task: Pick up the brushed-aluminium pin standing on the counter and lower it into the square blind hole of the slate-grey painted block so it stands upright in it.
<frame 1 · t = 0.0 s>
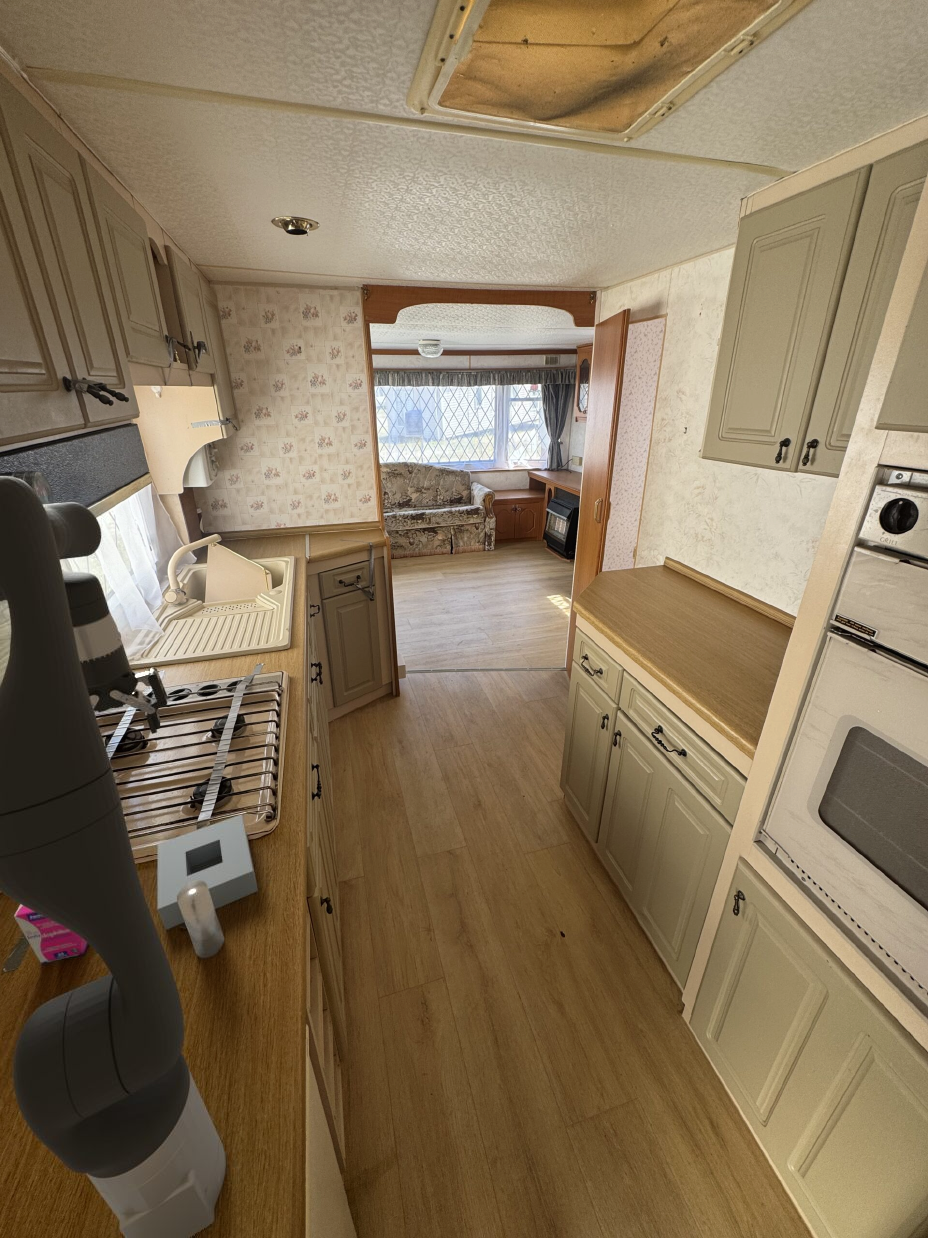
hand: (123, 739, 78), 29 cm above the worktop, fingers open, 8 cm apart
supplement box: (71, 943, 78), on the worktop
pin: (210, 944, 78), on the worktop
bore block: (210, 877, 89), on the worktop
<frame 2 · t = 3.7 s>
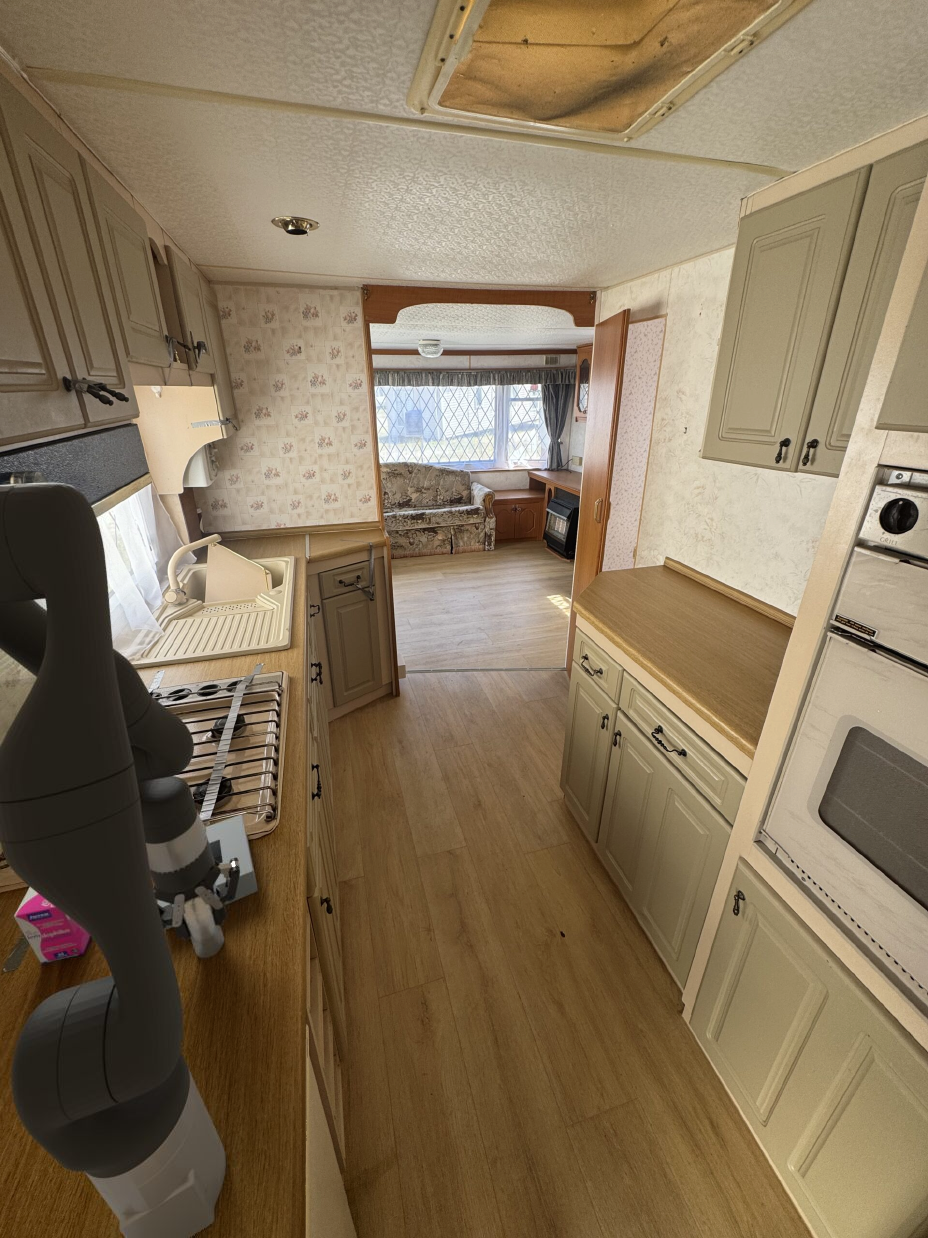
hand: (204, 927, 76), 4 cm above the worktop, fingers closed on pin, 4 cm apart
pin: (210, 944, 78), on the worktop, touching gripper
everything else where it was.
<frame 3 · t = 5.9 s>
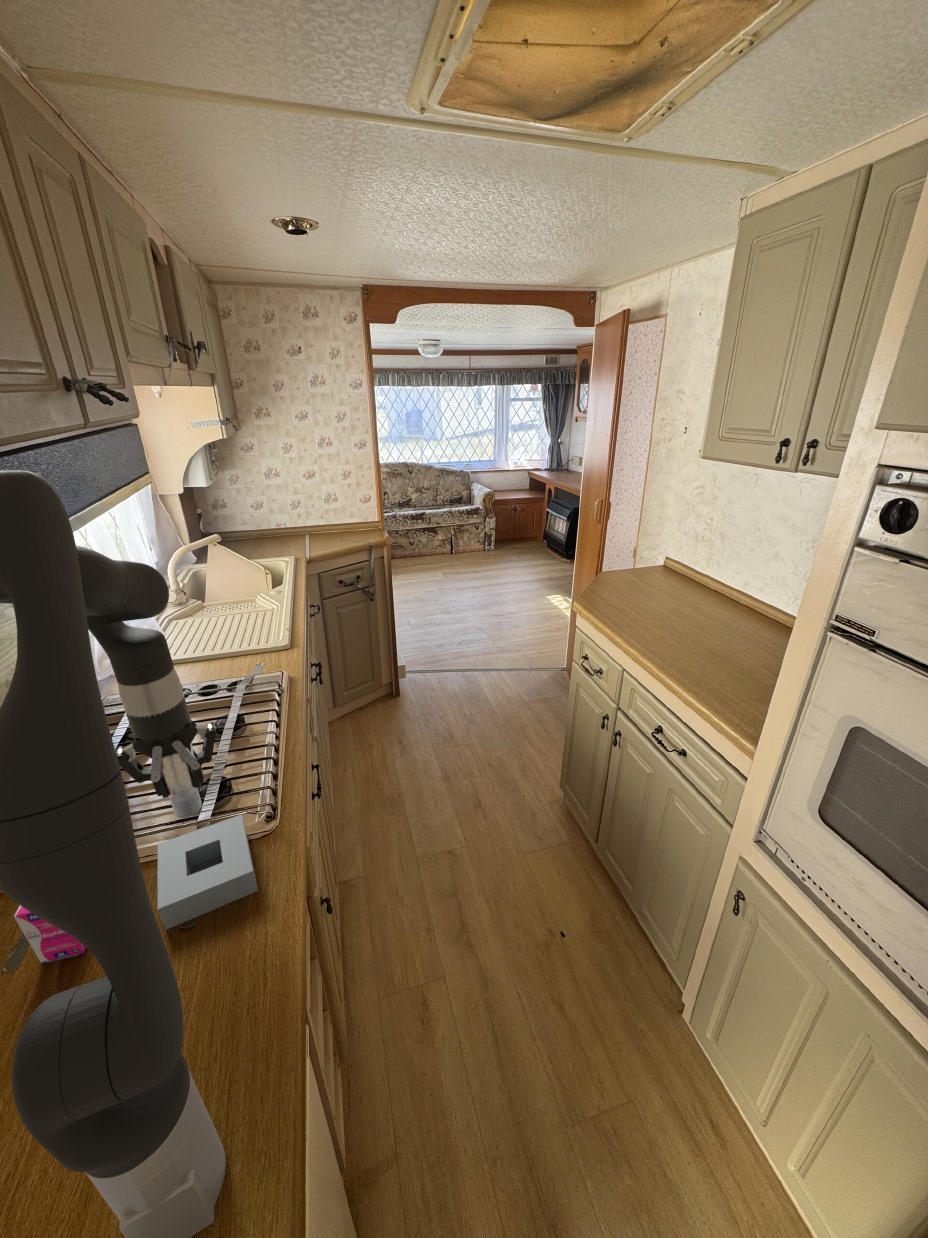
hand: (182, 788, 80), 20 cm above the worktop, fingers closed on pin, 4 cm apart
pin: (188, 808, 82), point 16 cm above the worktop, touching gripper
everything else where it was.
when the fingers open (6 cm above the worktop, at t = 8.5 s): pin stays where it is, resting on bore block.
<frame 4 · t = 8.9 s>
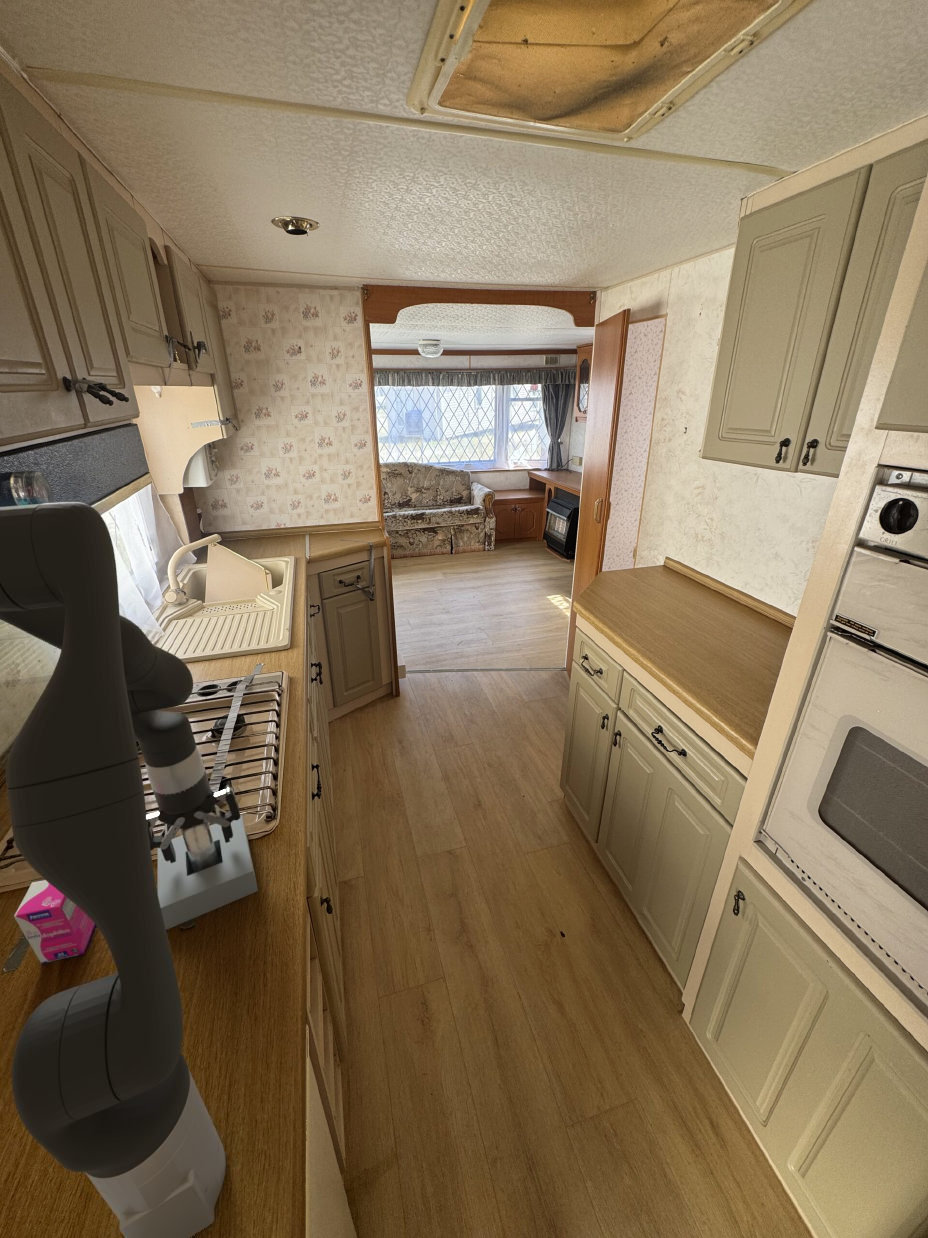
hand: (201, 848, 86), 7 cm above the worktop, fingers open, 8 cm apart
pin: (208, 872, 88), point 1 cm above the worktop, touching bore block
everything else where it was.
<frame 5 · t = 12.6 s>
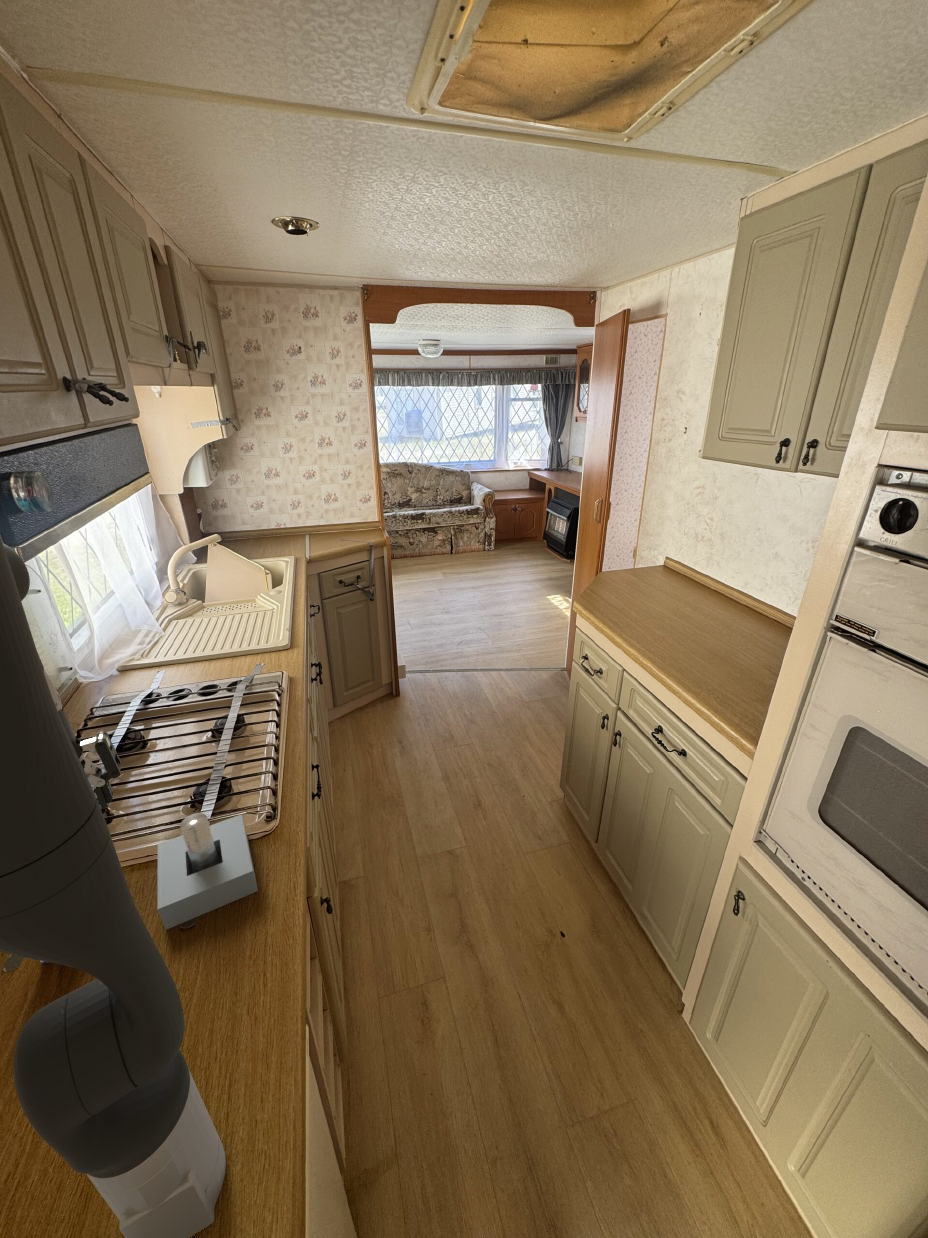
hand: (67, 816, 65), 28 cm above the worktop, fingers open, 8 cm apart
nothing on the worktop moved.
at the end: pin 0.0 cm off-centre on the bore block, point 1.1 cm above the bore block's base; pin tilted 1°; the gripper is holding nothing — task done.
